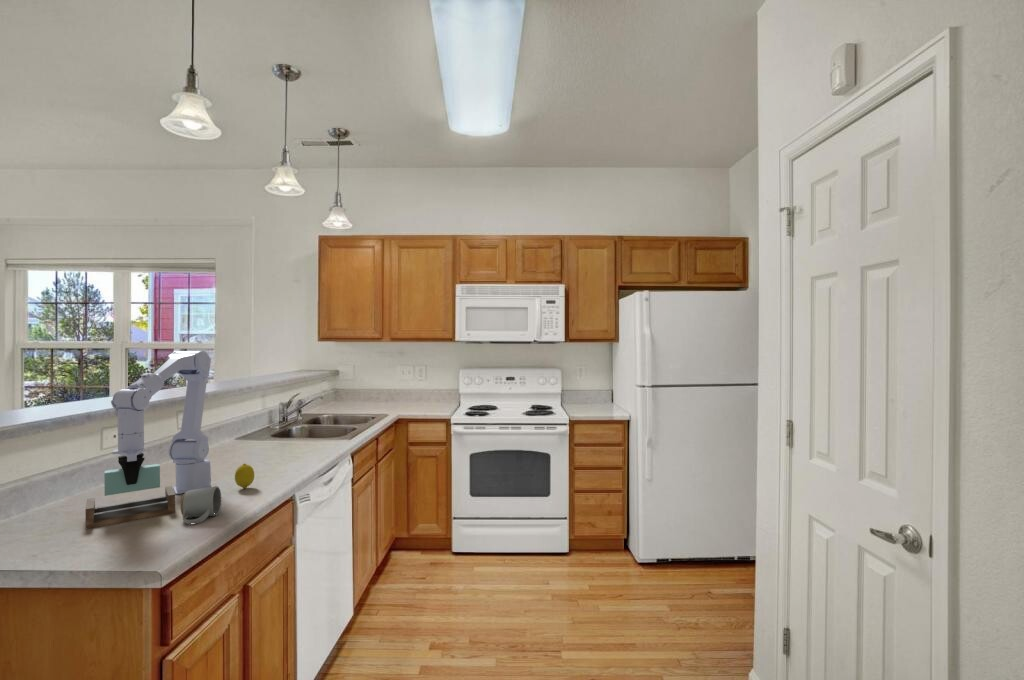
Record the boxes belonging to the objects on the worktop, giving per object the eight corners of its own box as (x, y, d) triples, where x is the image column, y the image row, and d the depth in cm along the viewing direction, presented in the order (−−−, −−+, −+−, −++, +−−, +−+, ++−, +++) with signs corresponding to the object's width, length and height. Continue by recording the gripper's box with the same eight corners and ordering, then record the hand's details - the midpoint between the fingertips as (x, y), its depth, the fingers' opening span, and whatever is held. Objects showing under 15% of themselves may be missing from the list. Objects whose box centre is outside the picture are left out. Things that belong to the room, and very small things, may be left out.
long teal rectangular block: (159, 484, 143) (159, 463, 143) (160, 487, 141) (159, 465, 141) (104, 493, 136) (104, 470, 136) (104, 495, 133) (104, 473, 133)
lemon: (246, 491, 158) (245, 466, 158) (230, 490, 159) (230, 465, 159) (258, 486, 164) (258, 461, 164) (243, 485, 165) (243, 461, 165)
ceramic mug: (189, 512, 140) (188, 485, 140) (222, 509, 142) (221, 482, 142) (174, 527, 130) (173, 497, 129) (210, 524, 132) (209, 495, 131)
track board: (172, 502, 148) (171, 485, 148) (175, 512, 140) (175, 494, 140) (87, 517, 136) (87, 499, 136) (85, 528, 128) (85, 509, 128)
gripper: (112, 430, 141) (112, 479, 141) (112, 439, 130) (112, 491, 130) (143, 427, 145) (144, 474, 146) (146, 435, 134) (146, 486, 134)
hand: (131, 482), depth 138 cm, fingers closed on long teal rectangular block, 3 cm apart
